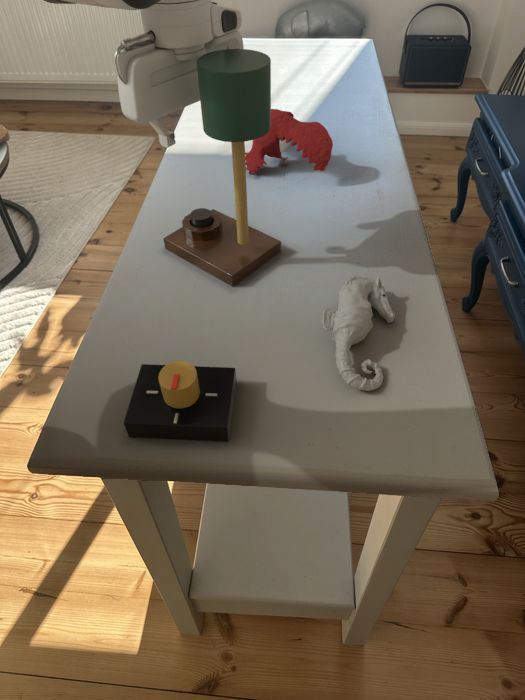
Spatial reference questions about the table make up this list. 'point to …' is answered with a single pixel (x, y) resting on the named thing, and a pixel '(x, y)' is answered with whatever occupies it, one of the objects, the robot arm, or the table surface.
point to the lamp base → (222, 248)
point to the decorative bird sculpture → (305, 134)
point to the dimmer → (183, 423)
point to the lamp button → (201, 218)
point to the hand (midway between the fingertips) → (192, 133)
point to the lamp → (236, 110)
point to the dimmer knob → (179, 384)
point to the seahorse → (357, 326)
